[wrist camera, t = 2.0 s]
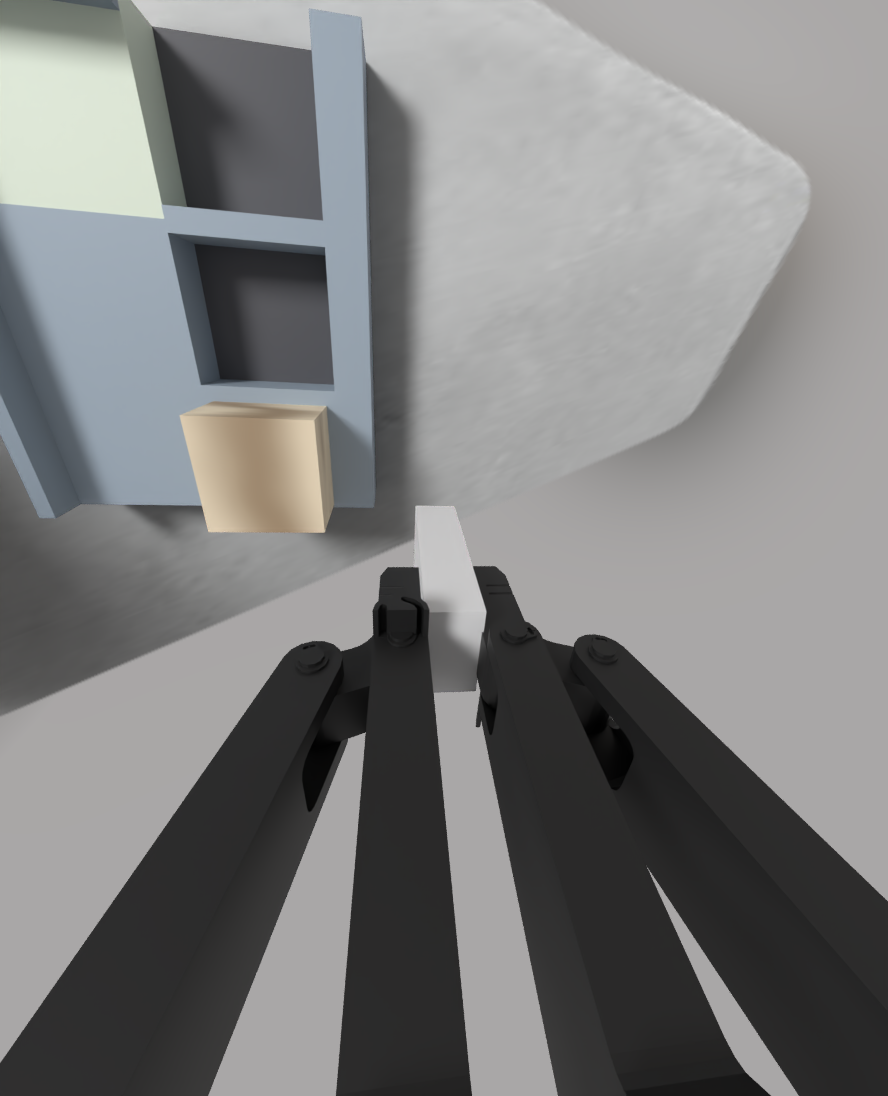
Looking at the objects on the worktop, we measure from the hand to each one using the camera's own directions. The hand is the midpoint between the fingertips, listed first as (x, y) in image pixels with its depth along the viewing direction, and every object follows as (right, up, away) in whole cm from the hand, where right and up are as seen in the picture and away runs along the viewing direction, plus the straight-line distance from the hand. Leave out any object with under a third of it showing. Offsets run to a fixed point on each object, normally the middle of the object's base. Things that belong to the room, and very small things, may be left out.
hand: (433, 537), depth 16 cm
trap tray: (-13, +13, +7) cm, 19 cm away
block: (-9, +5, +8) cm, 13 cm away
